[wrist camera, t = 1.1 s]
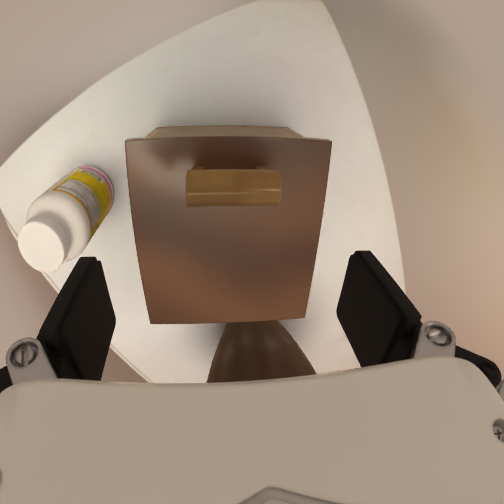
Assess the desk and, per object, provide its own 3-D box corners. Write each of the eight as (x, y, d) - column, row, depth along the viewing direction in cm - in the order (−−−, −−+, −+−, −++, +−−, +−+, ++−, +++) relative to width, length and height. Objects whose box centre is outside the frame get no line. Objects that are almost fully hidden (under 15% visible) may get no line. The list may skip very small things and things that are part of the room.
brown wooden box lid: (127, 138, 18) (101, 156, 14) (328, 139, 20) (361, 156, 15) (151, 318, 26) (143, 363, 21) (302, 312, 28) (318, 355, 23)
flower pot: (208, 365, 47) (213, 454, 34) (189, 295, 40) (185, 398, 26) (299, 352, 48) (325, 436, 35) (301, 279, 41) (341, 374, 27)
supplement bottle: (75, 224, 33) (29, 288, 22) (57, 174, 29) (-4, 222, 18) (123, 211, 33) (86, 275, 22) (106, 157, 29) (54, 199, 18)
